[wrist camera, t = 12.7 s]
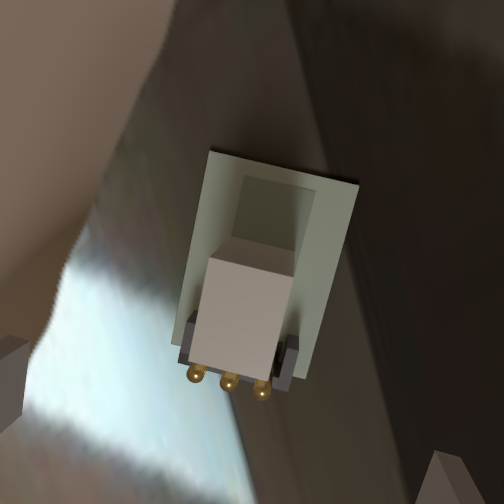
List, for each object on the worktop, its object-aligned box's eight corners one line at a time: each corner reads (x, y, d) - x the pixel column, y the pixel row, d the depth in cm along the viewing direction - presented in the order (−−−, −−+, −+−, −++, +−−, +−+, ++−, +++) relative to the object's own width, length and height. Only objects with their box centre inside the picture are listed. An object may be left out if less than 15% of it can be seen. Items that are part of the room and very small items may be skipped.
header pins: (206, 322, 31) (184, 359, 25) (282, 342, 30) (278, 384, 25) (201, 342, 31) (179, 383, 25) (277, 362, 31) (272, 408, 25)
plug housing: (230, 236, 29) (209, 257, 22) (295, 251, 29) (293, 277, 22) (212, 317, 31) (188, 361, 24) (274, 333, 30) (267, 381, 23)
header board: (210, 150, 29) (201, 149, 26) (358, 185, 28) (364, 187, 25) (172, 342, 32) (160, 358, 29) (305, 377, 31) (305, 396, 28)
